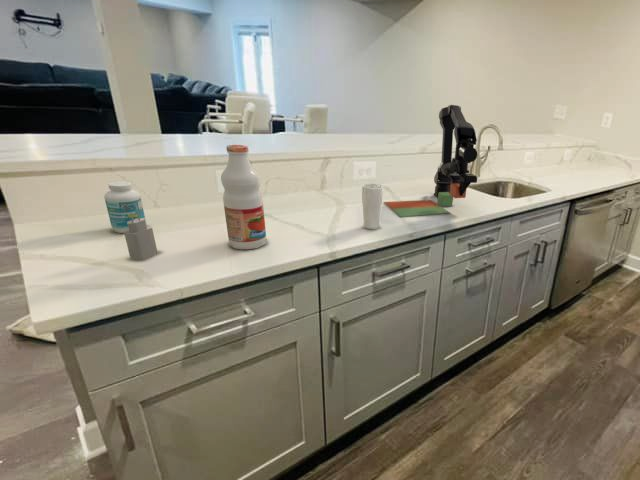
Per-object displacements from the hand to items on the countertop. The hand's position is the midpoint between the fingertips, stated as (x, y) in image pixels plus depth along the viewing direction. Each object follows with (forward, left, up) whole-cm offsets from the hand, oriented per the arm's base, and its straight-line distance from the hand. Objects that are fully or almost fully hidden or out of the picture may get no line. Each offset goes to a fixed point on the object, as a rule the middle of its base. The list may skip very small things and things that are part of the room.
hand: (457, 193), depth 161 cm
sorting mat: (+15, -7, -8) cm, 18 cm away
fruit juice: (+78, +15, -8) cm, 80 cm away
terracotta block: (0, 0, -1) cm, 1 cm away
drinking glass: (+40, +10, -8) cm, 42 cm away
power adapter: (+101, +17, -8) cm, 103 cm away
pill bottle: (+106, -3, -8) cm, 106 cm away
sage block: (0, -10, -8) cm, 13 cm away
